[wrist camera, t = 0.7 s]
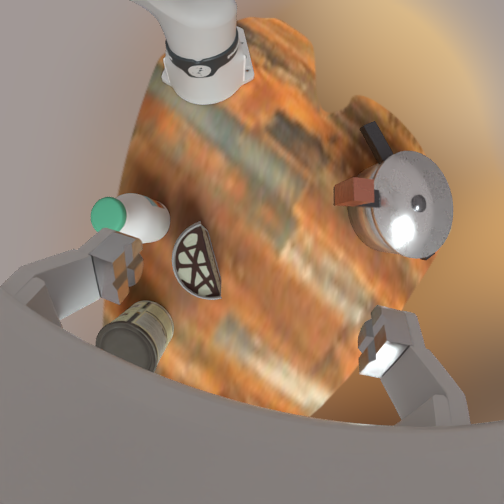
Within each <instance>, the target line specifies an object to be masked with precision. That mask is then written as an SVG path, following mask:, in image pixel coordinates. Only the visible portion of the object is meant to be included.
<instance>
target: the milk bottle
mask: <svg viewBox="0 0 504 504" xmlns="http://www.w3.org/2000/svg"><path fill="white" fill-rule="evenodd" d="M91 222H92V225H93V227H94V229H95V230H96V231H97V232H99V231H100V230H101V229H102V228H109V229H112V230H115V231H119V232H122V233H125V234H128V235H131V236H134V237H137V238H139V239H140V240H141V241H142V243H149V242H155V241H158V240H160V239H161V238H162V237H164V235H165V234H166V233H167V231H168V229H169V226H170V215H169V212H168V210H167V208H166V207H165V206H164V205H163V204H162V203H160V202H158V201H156V200H153V199H151V198H148V197H146V196H143V195H139V194H135V193H127V194H123V195H120V196H118V197H116V198H113V197H105V198H102V199H100V200H99V201H98V202H96V204H95V205H94V206H93V208H92V212H91Z"/></svg>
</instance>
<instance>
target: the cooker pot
mask: <svg viewBox="0 0 504 504" xmlns="http://www.w3.org/2000/svg"><path fill="white" fill-rule="evenodd" d="M360 131H361V133H362V134H363V136H364V138H365V140H366V141H367V143H368V145H369V147H370V148H371V150H372V152H373V154H374V156H375V158H376V160H377V161H378V163H377V164H375V165H373V166H371V167H368V168H366V169H365V170H363V171H362V172H361V173H360V174H359V175H358V176H357V177H358V178H366V179H373V177H374V175H375V172H376V171H377V169H378V167H379V166H380V165H381V163H382V162H383V161H384V160H385V159H386V158H388V157H390V156H391V155H393V153H392V151H391V149H390V147H389V145H388V143H387V141H386V140H385V138H384V136H383V134H382V133H381V131H380V129H379V127H378V126H377V124H376V122H375V121H374V122H371V123H369V124H366V125H364V126H363V127H361V128H360ZM348 214H349V219H350V222H351V225H352V227H353V229H354V231H355V233H356V234H357V236H358V237H359V238H360V239H361V241H362V242H363V243H365V244H366V245H367V246H369V247H370V248H372V249H374V250H377V251H381V252H388V253H394V254H398V253H396V252H395V251H393V250H392V249H391V248H390V247H388V246H387V244H386V243H385V242H384V241H383V239H382V238H381V236H380V235H379V233H378V231H377V229H376V227H375V224H374V221H373V218H372V214H371V208H364V207H352V206H348ZM433 254H435V253H433ZM433 254H432V255H433ZM432 255H430V256H427V257H424V258H420V259H422V260H427V259H428V258H430V257H431V256H432Z"/></svg>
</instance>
